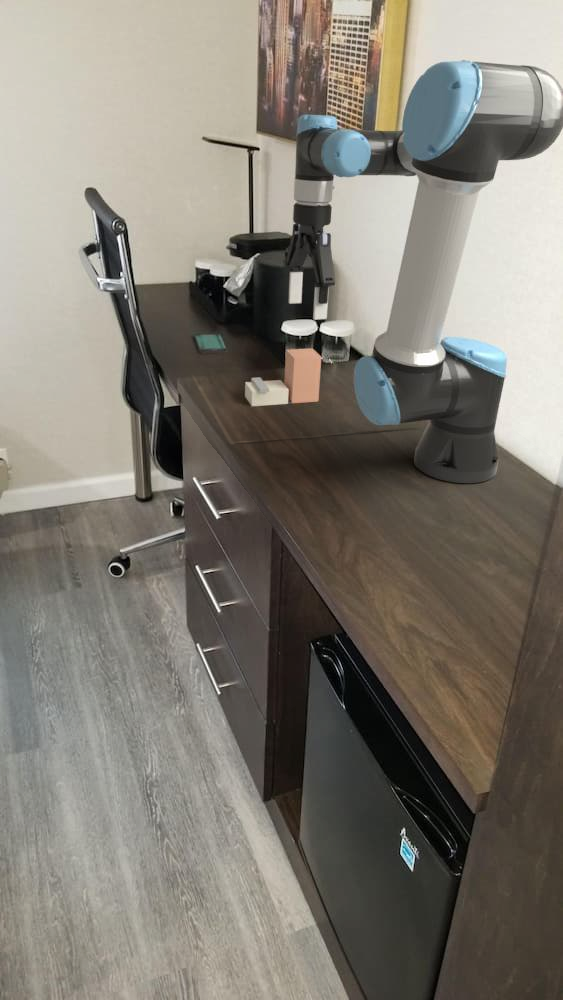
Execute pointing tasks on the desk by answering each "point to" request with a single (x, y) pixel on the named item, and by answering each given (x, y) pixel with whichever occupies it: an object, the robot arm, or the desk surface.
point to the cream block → (266, 392)
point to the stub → (302, 375)
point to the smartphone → (210, 343)
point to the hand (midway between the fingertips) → (306, 310)
